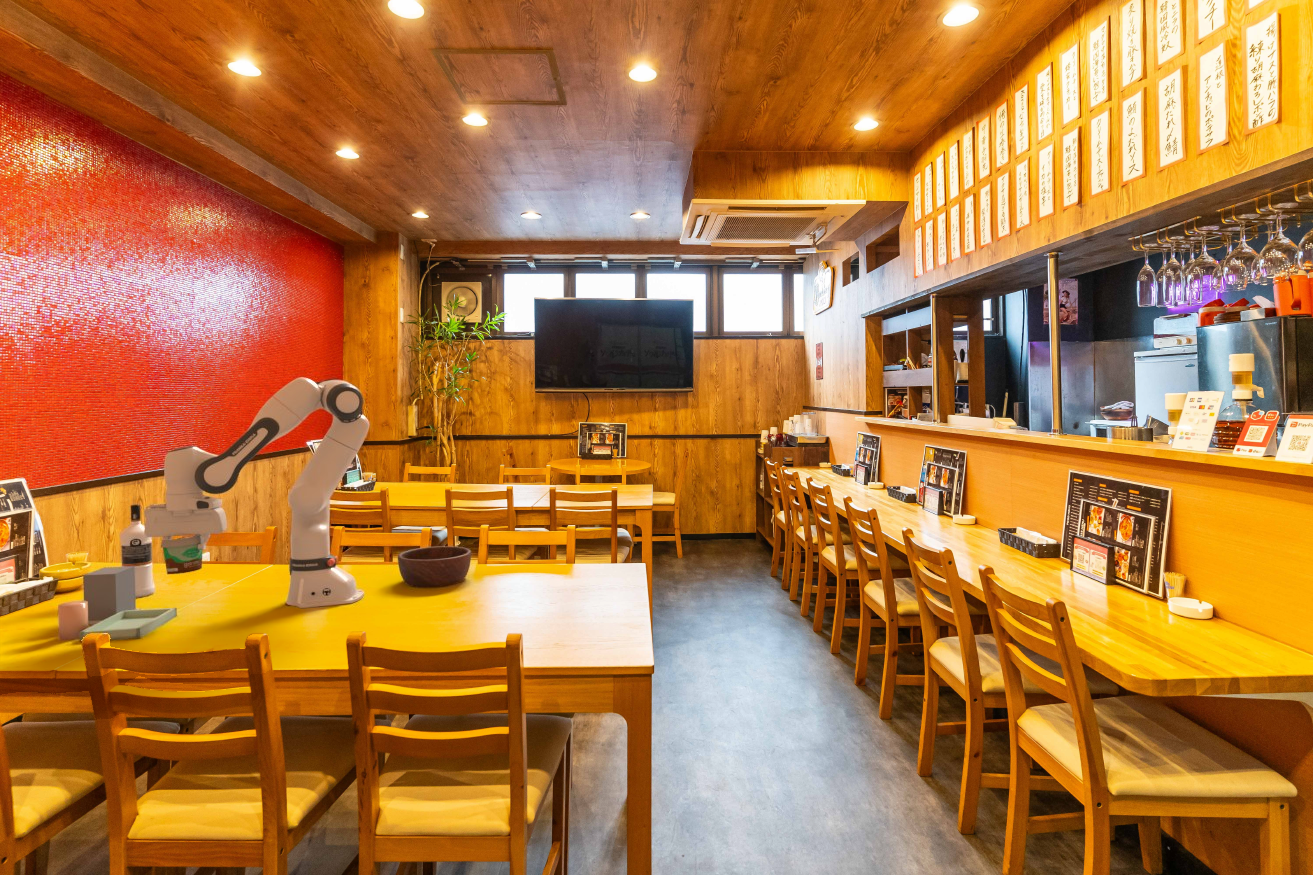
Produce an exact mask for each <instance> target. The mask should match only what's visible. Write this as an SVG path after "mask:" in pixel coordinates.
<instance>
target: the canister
mask: <svg viewBox="0 0 1313 875" xmlns="http://www.w3.org/2000/svg"><path fill="white" fill-rule="evenodd" d="M57 612H58V616H57V617H58V618H57V619H58V620H57V621H58V640H59V641H62V642H63V641H64V642H65V641H66V642H67V641H75V640H79V632H81V631H83V630H85V629H87V628H89V625H88V601H84V600H72V601H65V602H63V603H60V604H58V605H57Z"/></svg>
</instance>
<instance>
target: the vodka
mask: <svg viewBox="0 0 1313 875" xmlns="http://www.w3.org/2000/svg"><path fill="white" fill-rule="evenodd" d="M144 526H145V524H142V521H141V504H136V503H135V504H131V505H130V525H129V526H127V527H125V528H124V529H123V530H122V531H120V535H119V540H120V544H119V545H120V548H121V549H120V551H121V552H120V555H121V558H120V559H121V566H120V567H126V566H135V599H139V598H143V597H148V596H150V595H153V594H154V593H155V592H156V585H155V583H154V576H153V575H154V574H153V565H154V563H153V550H152V548H153V546H152V542H153V540H152V539H153V537H147V536H146V535H145V534H144Z"/></svg>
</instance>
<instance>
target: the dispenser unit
mask: <svg viewBox="0 0 1313 875" xmlns="http://www.w3.org/2000/svg"><path fill="white" fill-rule="evenodd" d="M82 582H83V584H82V585H83V586H82V587H83V601H88V626H90V625H91V626H93V625H95V624H97V623H99V622H101V621H103V620H105V619H107V618H109V617H111V616H113V615H115V614H117V613H119V612H121V611H126V610H142V608H136V607H137V606H136V599H137V598H135V566H126V567H121V566H110V567H109V566H108V567H107V566H105V567H102V568H99V569H97V570H94V571H91V572H87V573H85V574H83V575H82ZM124 618H125V617H124ZM124 618H122V619H124ZM122 619H120V620H122ZM120 620H119V621H120Z"/></svg>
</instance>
